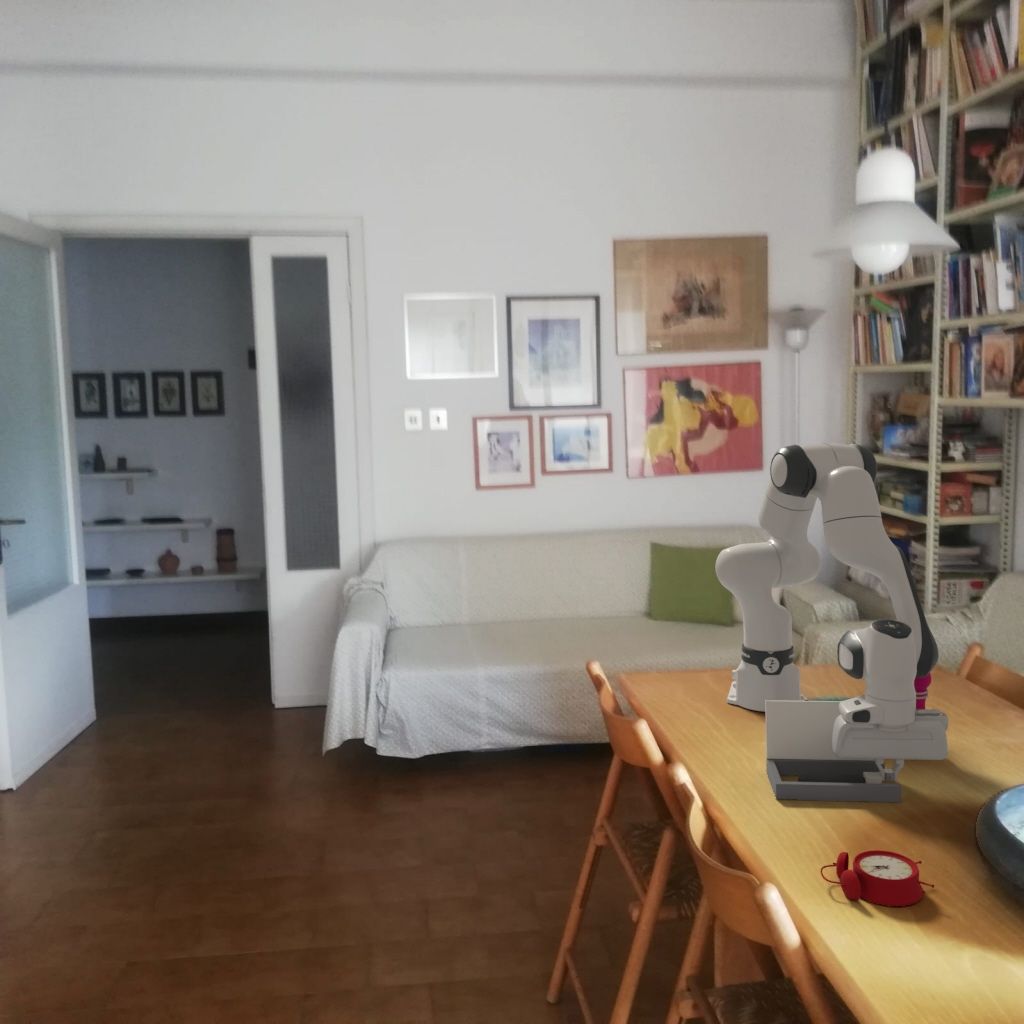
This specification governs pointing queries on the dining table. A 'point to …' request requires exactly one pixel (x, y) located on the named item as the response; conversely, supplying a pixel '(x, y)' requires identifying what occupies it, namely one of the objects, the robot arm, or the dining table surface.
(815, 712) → the cover
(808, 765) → the grey flat frame
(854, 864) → the alarm clock
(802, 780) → the white-capped dark rod
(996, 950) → the dining table surface
